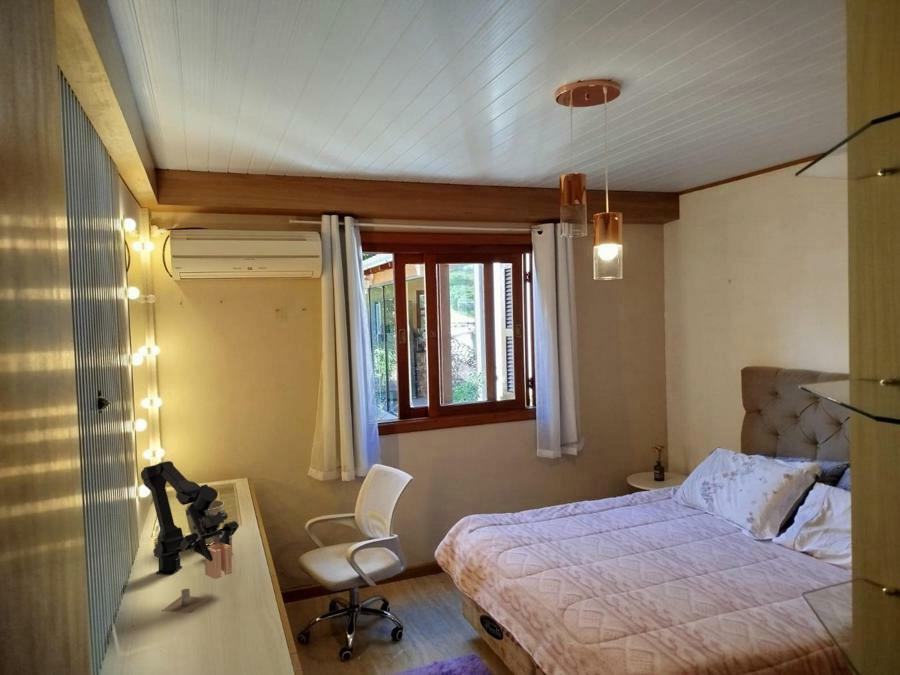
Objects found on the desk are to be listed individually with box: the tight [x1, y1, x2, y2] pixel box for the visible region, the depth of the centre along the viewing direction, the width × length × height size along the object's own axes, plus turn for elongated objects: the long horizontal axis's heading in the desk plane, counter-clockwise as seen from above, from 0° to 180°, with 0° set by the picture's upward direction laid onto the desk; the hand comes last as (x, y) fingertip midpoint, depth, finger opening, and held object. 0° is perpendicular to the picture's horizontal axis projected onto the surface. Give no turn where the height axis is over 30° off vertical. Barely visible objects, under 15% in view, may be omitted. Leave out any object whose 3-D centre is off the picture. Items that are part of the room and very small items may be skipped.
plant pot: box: [184, 499, 225, 544], centre depth 248 cm, size 15×15×16 cm
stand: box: [161, 588, 210, 614], centre depth 192 cm, size 10×10×5 cm
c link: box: [204, 542, 233, 580], centre depth 201 cm, size 6×6×9 cm
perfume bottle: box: [213, 535, 234, 556], centre depth 235 cm, size 8×3×10 cm, turn 74°
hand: (220, 557), depth 200 cm, fingers closed on c link, 6 cm apart
